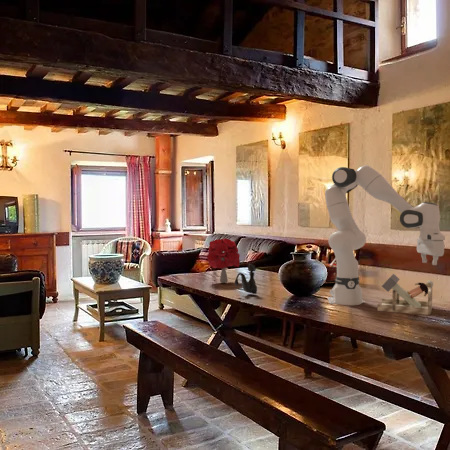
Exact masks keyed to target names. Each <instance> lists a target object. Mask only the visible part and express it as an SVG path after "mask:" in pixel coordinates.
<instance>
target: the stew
mask: <svg viewBox="0 0 450 450" xmlns="http://www.w3.org/2000/svg"><path fill="white" fill-rule="evenodd" d="M335 262H336V257H334V259H333V260H332V262H331V263H323V264H324V265H325V266H326V268H327V272H328V276H327V280H326V282H325V283H324V284H326V283H327V284H328V283H329V284H330V283H331V284H332V283H333V284H336V283H335V282H336V276H337V263H336V264H335Z"/></svg>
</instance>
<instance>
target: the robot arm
mask: <svg viewBox="0 0 450 450" xmlns="http://www.w3.org/2000/svg"><path fill="white" fill-rule="evenodd" d="M331 179H332V182H333V185H330V186H328V187H327V188H326V189H325V190H324V191H325V192H324V198H325V204H326V209H327V213H328V215H329V219H330V222H331V223H332V224H333V225H334V226H335V227H336V229H337V230H336V231H335V232H333V233H331V234H330V235H329V238H328V245H329V248H331V250H332V251H333V253H334V256H335V257H336V261H335V262H336V265H337V274H336V276H335V278H336V282H335V283H334V285H333V287H332V288H331V289H329V295H331V296H328V297H327V301H328V302H329V304H330V305H342V306H358V305H361V304H365V303H366V301H365V300H363V289H362V287H361V286H360V277H359V261H358V260H357V259H356V257H355V253H354V251H356V250H359V249H361V248H363V247H364V246H365V244H366V241H367V236H366V234H365V233H364V232H363V230H361V229H360V227H358V225H357V222H355V219H354V217H353V215H352V213H351V209H350V206H349V203H348V200H347V194H348V193H350V192H351V191H353V190H354V189H356V188H357V187H358V186H360V187H362V189H363V190H364V191H365V192H367V194H369V195H370V196H371V197H372V198H374V199H376V200H378V201H382V202H385V203H387V204H390V205H391V206H392V207H393V208H395V209H396V210H397V211H398V212H399V213H400V215H399V222H400V224H401V226H402V227H404V228H406V229H419V236H418V238H417V241H416V251H417V253H419V254H420V256H421V259H422V262H421V263H423V264H427V263H428V258H427V255H429V256H432V258H433V259H432V261H431V265H432V266H437V265H438V261H439V259H440V258H439V257H444V254H445V242H444V241H445V240H446V236H445V235H444V234H443V233H442V232H441V231H440V230H441V229H440V221H441V217H440V216H441V213H440V208H439V207H440V206H439V205H438V204H436V203H434V202H430V201H424V202H423V201H422V202H421V203H420V204H418V205H415V206H413V205H411V203H410V202H408V200H406V199H405V198H404V197H402V196H401V195H400V194H399V193H398V192H397V191H396V190H395V188H394V187H393V186H392V184H391V183H389V182H388V180H387V179H386V178H385V177H384V176H383V175H382V174H381V173H379V172H378V171H377V170H376V169H374V168H373V167H371V166H369V165H367V164H364V165H362V166H360V167H359V168H358V169H354V168H352V167H351V168H350V167H347V166H341V167H338V168H336V169H335V170H334V171H333V172H332V175H331ZM335 257H334V258H335Z"/></svg>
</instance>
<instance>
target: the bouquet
mask: <svg viewBox="0 0 450 450" xmlns="http://www.w3.org/2000/svg"><path fill="white" fill-rule="evenodd" d="M208 244H209V246H208V253H207V257H206V258H207V259H206V260H207V261H208V265H209V266H210V267H212V268H213V269H221V272H220V277H219V283H225V284H226V283H228V279H229V278H228V275H227V270H226V268H228V267H232V266H233V267H234V268H239V267H240V263H241V259H240V257H241V254H240V253H239V248H238V246H237V244H236V242H235V241H234V240H232V239H229V238H226V237H224V238H220V239H219V238H218V239H214V240H211V241H209V243H208Z"/></svg>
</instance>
